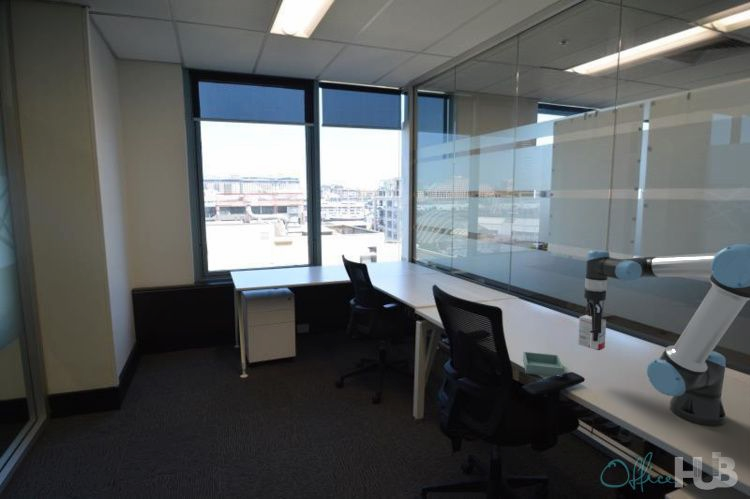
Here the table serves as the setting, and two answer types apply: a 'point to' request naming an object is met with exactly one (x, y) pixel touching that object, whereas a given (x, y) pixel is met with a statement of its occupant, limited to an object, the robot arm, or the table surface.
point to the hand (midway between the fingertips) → (591, 344)
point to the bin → (542, 364)
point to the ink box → (585, 334)
